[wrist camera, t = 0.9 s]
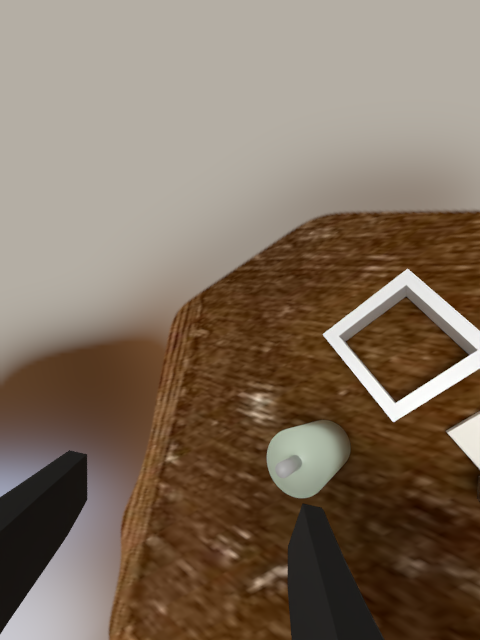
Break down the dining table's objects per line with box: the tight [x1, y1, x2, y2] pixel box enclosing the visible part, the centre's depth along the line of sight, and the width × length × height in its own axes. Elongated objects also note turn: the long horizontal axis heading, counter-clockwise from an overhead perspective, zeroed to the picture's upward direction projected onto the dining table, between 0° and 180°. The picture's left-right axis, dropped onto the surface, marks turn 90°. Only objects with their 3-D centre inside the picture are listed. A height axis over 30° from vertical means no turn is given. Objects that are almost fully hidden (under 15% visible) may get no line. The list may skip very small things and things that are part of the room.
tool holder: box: [323, 269, 480, 422], centre depth 19 cm, size 7×7×2 cm
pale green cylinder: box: [267, 420, 351, 498], centre depth 17 cm, size 3×3×9 cm
